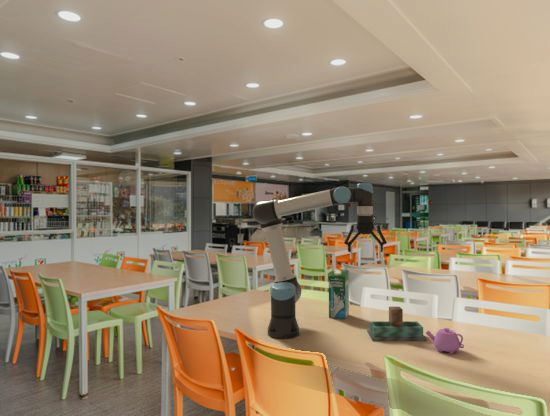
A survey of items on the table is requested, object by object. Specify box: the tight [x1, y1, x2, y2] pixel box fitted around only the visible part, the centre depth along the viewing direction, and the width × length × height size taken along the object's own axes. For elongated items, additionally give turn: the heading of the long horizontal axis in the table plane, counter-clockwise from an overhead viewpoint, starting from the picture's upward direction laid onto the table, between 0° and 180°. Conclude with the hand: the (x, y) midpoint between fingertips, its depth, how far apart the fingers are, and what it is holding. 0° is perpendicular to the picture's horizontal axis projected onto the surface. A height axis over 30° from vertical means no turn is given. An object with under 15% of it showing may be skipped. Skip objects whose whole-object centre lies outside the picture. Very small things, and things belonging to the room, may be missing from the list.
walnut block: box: [388, 306, 404, 327], centre depth 189 cm, size 5×5×12 cm
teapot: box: [425, 327, 465, 355], centre depth 171 cm, size 10×15×9 cm
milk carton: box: [328, 268, 350, 320], centre depth 223 cm, size 9×9×25 cm
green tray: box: [366, 320, 428, 342], centre depth 189 cm, size 24×12×6 cm, turn 88°
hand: (365, 258), depth 199 cm, fingers open, 13 cm apart
